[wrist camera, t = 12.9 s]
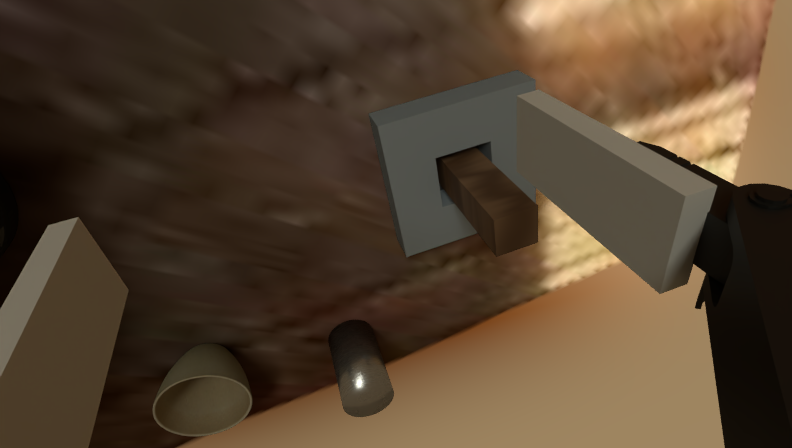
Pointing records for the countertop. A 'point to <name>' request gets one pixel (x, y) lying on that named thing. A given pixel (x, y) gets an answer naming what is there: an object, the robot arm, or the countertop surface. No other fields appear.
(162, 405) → the flower pot
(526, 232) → the wooden square peg
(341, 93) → the countertop surface
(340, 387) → the round bit
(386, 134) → the socket plate
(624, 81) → the countertop surface
